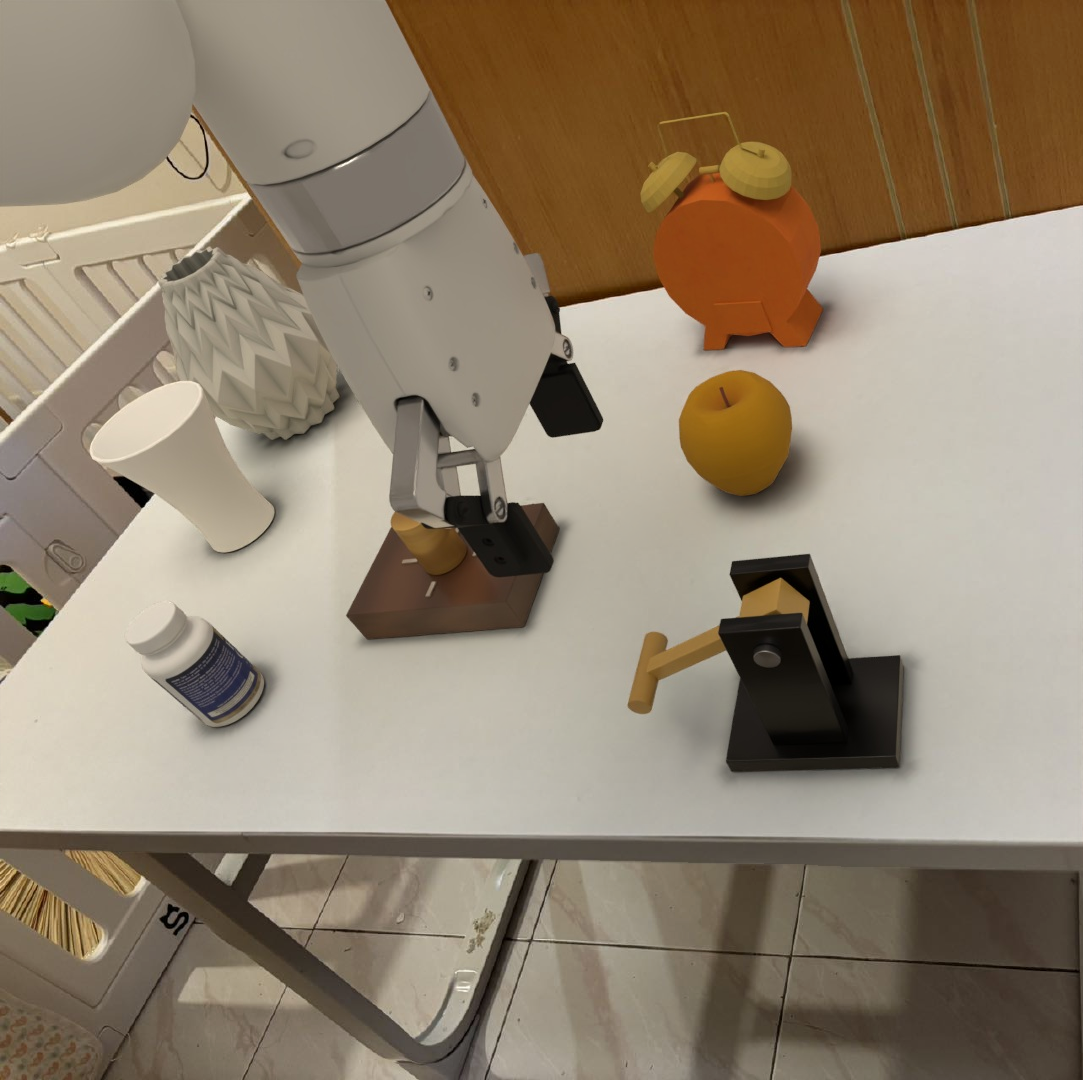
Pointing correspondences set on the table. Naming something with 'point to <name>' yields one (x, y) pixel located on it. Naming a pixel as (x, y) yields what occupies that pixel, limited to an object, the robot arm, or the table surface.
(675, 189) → the alarm clock
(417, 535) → the dial knob
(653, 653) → the door handle
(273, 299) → the vase
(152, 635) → the pill bottle
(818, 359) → the table surface
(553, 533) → the brown dial base
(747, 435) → the apple
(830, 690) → the handle bracket
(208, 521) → the cup
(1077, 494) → the table surface
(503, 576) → the robot arm
